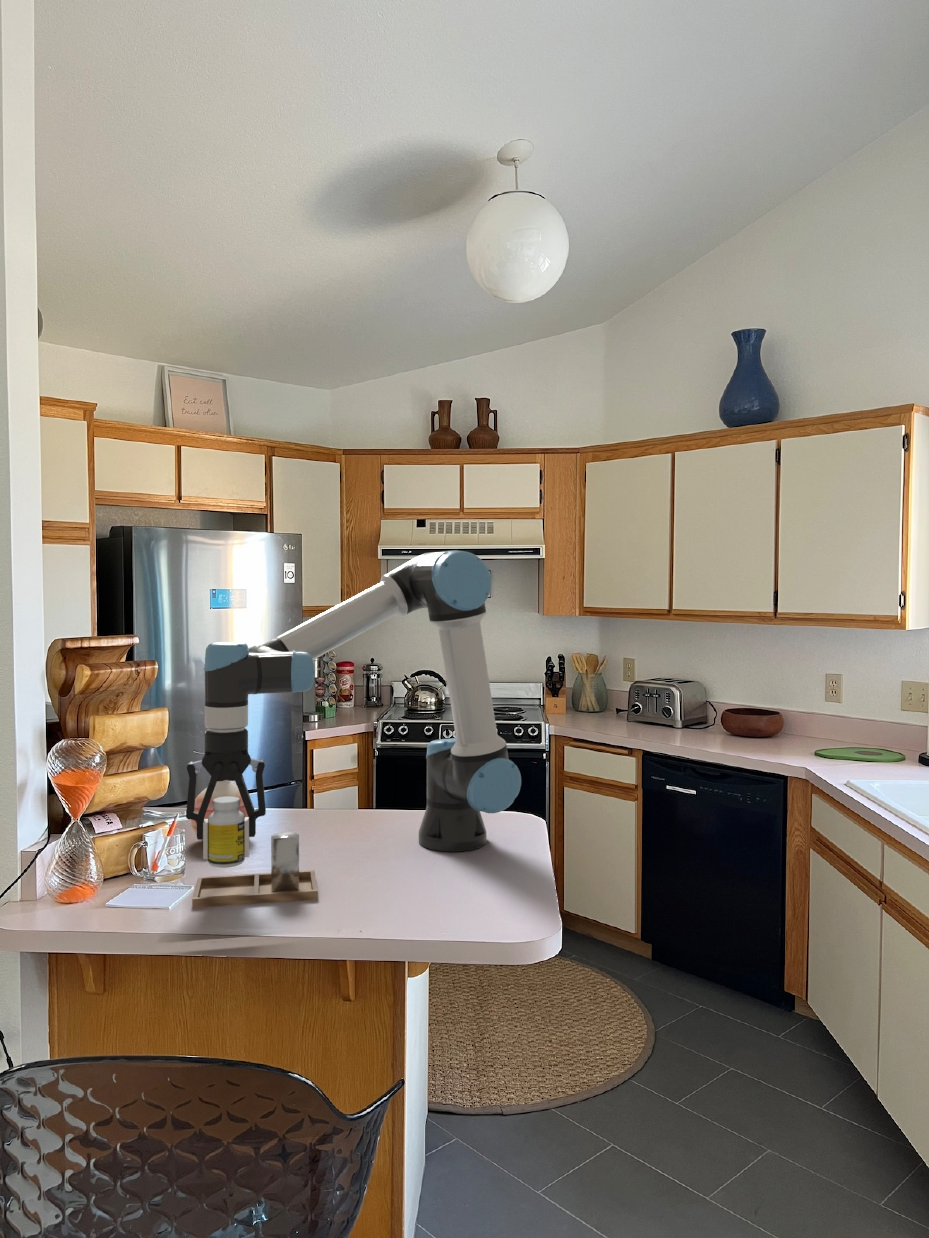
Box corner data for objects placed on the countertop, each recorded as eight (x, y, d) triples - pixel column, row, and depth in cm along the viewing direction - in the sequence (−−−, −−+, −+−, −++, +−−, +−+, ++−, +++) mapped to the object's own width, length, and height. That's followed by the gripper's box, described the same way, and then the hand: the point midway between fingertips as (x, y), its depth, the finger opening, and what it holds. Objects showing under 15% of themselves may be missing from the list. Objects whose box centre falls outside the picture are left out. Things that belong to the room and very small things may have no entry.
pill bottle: (234, 870, 156) (234, 804, 156) (201, 867, 157) (200, 802, 157) (251, 858, 162) (251, 796, 162) (218, 856, 164) (218, 794, 163)
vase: (220, 854, 187) (220, 771, 186) (176, 844, 194) (175, 764, 193) (266, 838, 198) (266, 760, 198) (223, 829, 206) (223, 754, 205)
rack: (314, 883, 169) (314, 869, 169) (317, 905, 158) (317, 890, 158) (197, 891, 165) (197, 877, 165) (192, 914, 153) (192, 899, 153)
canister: (298, 884, 165) (298, 831, 165) (299, 893, 160) (299, 839, 160) (271, 886, 164) (271, 832, 164) (271, 895, 159) (271, 840, 159)
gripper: (281, 723, 165) (281, 846, 166) (172, 726, 160) (172, 852, 161) (281, 730, 157) (281, 858, 158) (167, 733, 153) (167, 865, 154)
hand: (226, 855), depth 160 cm, fingers closed on pill bottle, 6 cm apart
